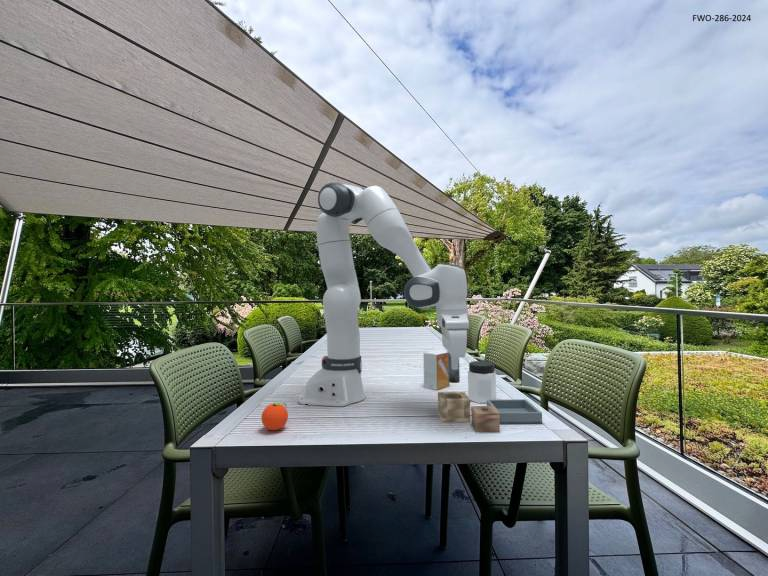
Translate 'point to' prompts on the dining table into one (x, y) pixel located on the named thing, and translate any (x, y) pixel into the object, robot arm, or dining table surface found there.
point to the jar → (481, 381)
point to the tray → (516, 411)
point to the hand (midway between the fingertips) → (453, 367)
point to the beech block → (453, 407)
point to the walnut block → (485, 419)
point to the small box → (436, 370)
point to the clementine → (274, 416)
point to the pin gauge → (453, 372)
